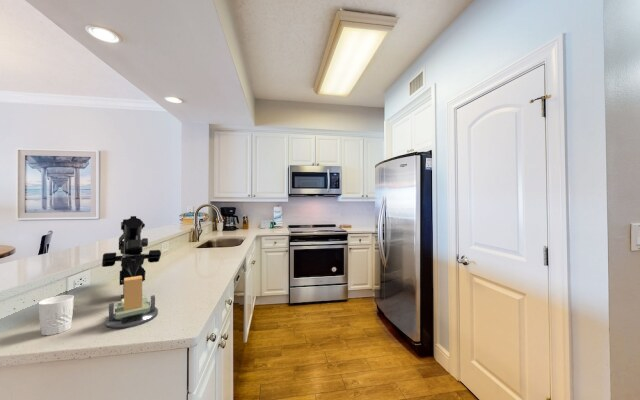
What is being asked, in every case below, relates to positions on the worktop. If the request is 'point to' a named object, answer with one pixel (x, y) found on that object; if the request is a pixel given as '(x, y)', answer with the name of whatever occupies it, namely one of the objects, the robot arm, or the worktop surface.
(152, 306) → the base
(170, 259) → the worktop surface
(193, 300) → the worktop surface
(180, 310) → the worktop surface
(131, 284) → the orange and green block
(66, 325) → the white cup
